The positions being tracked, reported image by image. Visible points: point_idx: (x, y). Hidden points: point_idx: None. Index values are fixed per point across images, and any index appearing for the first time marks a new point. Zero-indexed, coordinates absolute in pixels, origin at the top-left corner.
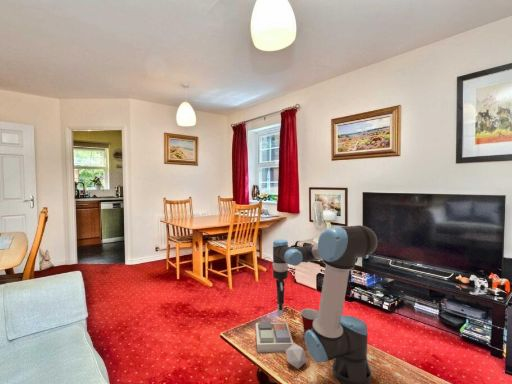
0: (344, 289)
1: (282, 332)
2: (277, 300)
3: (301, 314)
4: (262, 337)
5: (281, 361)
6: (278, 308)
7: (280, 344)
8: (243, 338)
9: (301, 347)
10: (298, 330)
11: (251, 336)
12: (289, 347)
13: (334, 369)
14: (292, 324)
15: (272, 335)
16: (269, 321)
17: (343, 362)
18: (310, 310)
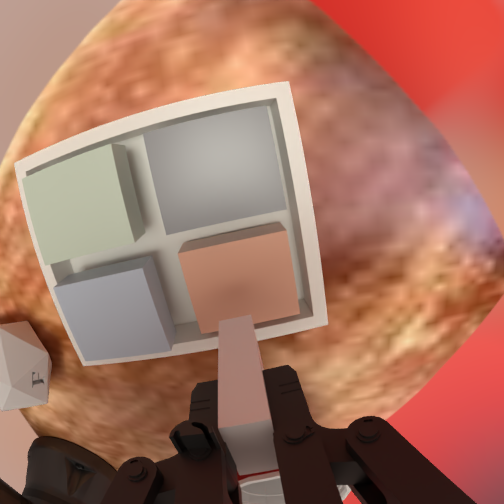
0: None
1: (123, 321)
2: (288, 435)
3: (264, 475)
4: (26, 188)
5: (22, 288)
6: (221, 379)
7: (54, 298)
8: (163, 39)
9: (2, 407)
10: (313, 358)
11: (194, 78)
12: (1, 354)
13: (40, 449)
14: (376, 322)
15: (64, 255)
16: (276, 201)
17: (26, 482)
18: (342, 487)
